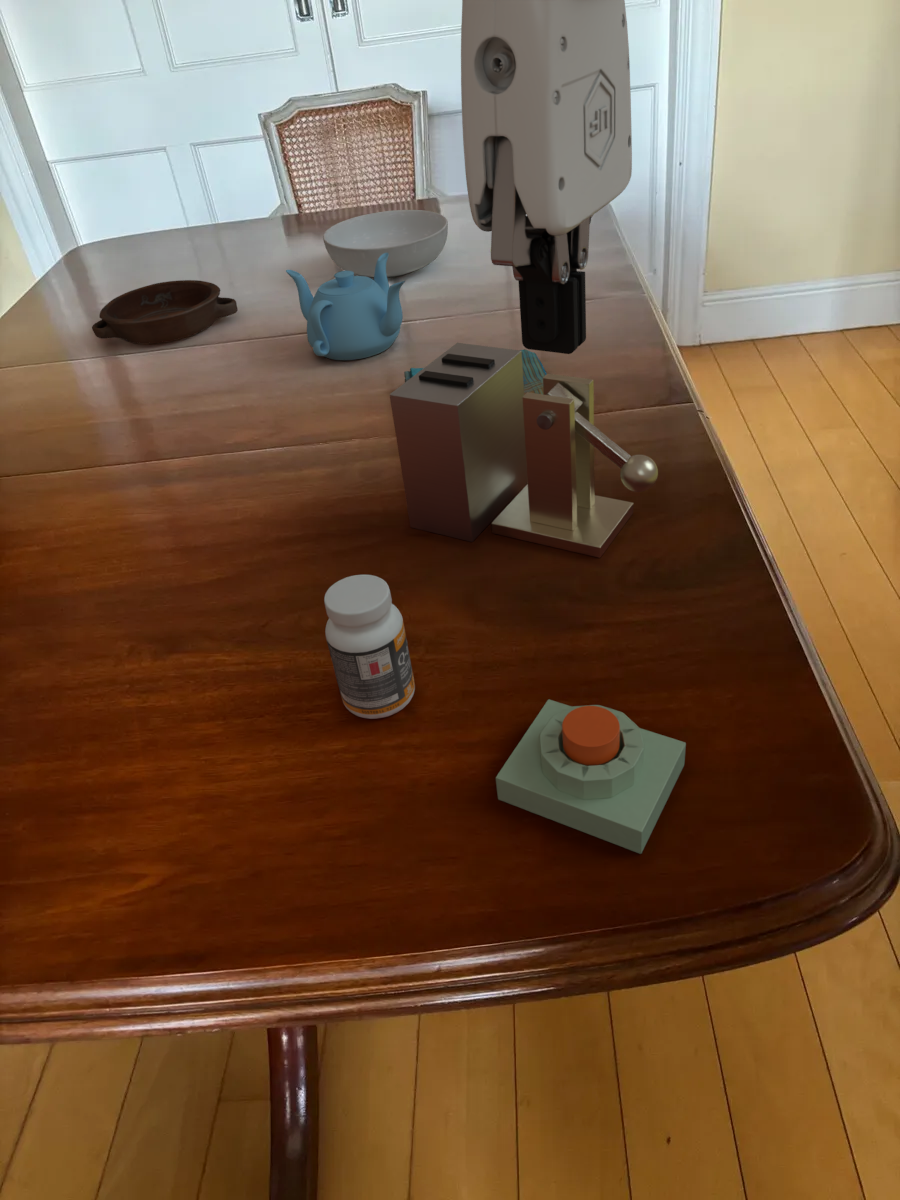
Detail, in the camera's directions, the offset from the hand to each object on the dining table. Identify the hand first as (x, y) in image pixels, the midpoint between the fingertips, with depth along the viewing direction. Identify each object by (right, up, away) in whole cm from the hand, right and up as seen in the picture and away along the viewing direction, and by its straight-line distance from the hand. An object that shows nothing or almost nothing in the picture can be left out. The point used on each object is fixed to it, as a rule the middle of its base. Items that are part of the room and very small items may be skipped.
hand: (554, 345), depth 50 cm
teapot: (-18, +22, +77) cm, 82 cm away
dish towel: (-2, +7, +55) cm, 55 cm away
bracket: (+5, -7, +35) cm, 36 cm away
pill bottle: (-11, -22, +19) cm, 31 cm away
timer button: (+3, -24, +7) cm, 25 cm away
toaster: (-4, -5, +39) cm, 40 cm away
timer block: (+4, -27, +10) cm, 28 cm away
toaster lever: (+6, -1, +28) cm, 29 cm away
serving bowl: (-16, +42, +102) cm, 111 cm away
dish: (-50, +28, +90) cm, 106 cm away
